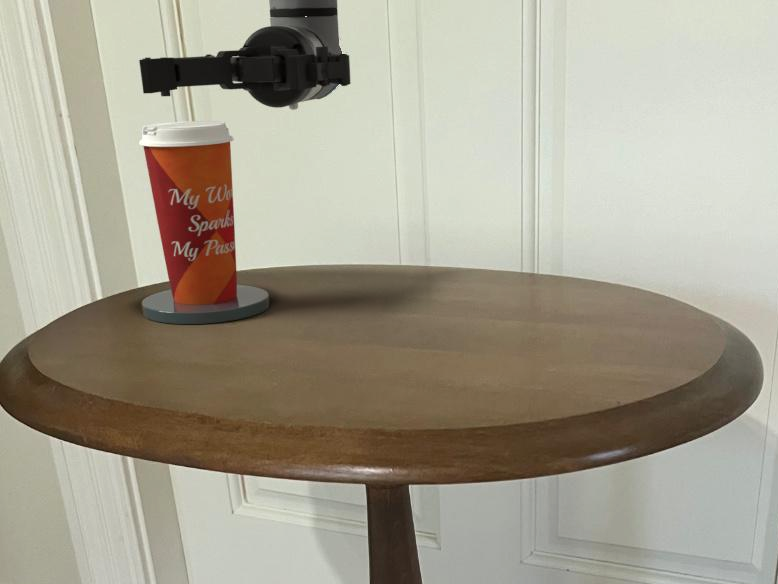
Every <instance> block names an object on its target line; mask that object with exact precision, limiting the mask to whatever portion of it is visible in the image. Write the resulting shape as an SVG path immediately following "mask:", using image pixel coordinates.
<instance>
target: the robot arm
mask: <svg viewBox="0 0 778 584" xmlns="http://www.w3.org/2000/svg"><path fill="white" fill-rule="evenodd" d="M268 3H269V22H270V23H269V26H264V27H261V28H259V29H257V30H256V31H254V32H253V33H251V34H250V35H249V36H248V38H247V39H246V40H245V42H244V43H243V46H242V47H240V48H239V49H235V50H219V51H218V52H217V53H216V55H213V54H205V55H202V56H200V55H199V56H184V57H183V56H182V57H166V56H165V57H157V58H156V57H155V58H151V56H150V57H144V58H142V59H139V60H138V61H139V69H140V76H141V86H142V93H143V94H156V93H160V96H161V97H171V95H172V94H171V91H175V90H178V88H185V87H186V88H187V87H203V86H219V87H220V88H221V89H222V90H231V91H232V90H243V91H246V92H248V94H249V95H250V96H251V98H253V99H254V100H255V101H257V102H258V103H260V104H262V105H264V106H266V107H270V108H275V109H276V108H277V109H279V108H285V107H288V108H289V109H290V110H292V111H294V110H297V109H298V108H299V104H300V103H304V102H308V101H313V100H322V99H323V98H326V97H327V96H329V95H331V94H332V91H333V90H334V91H335V90H336V89H337V88H338V87H339V86H340V85H341V87H348V86H349V85H351V84H352V83H351V64H350V62H351V61H350V55H349V54H342V51H341V48H340V46H339V38H340V34H339V31H340V30H339V17H338V15H339V13H338V0H268ZM305 16H307V17H305ZM339 84H340V85H339ZM338 85H339V86H338ZM337 86H338V87H337ZM336 87H337V88H336ZM334 91H333V92H334Z"/></svg>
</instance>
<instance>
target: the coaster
mask: <svg viewBox="0 0 778 584" xmlns="http://www.w3.org/2000/svg"><path fill="white" fill-rule="evenodd" d="M269 306H270V298H269V292H268V291H267V290H265V289H263V288H261V287H257V286H252V285H246V284H245V285H244V284H237V296H236V298H234V299H232V300H229V301H226V302H221V303H215V304H205V305H188V304H180V303H177V302H175V301H174V299H173V296H172V292H171V288H170V289H166V290H163V291H159V292H156V293H153V294H151V295H148V296H147V297H145V298H143V300H142V301H141V309H142V314H143V316H144V317H145V318H146V319H148V320H150V321H153V322H157V323H162V324H170V325H206V324H209V325H210V324H219V323H225V322H232V321H238V320H243V319H248V318H251V317H254V316H257V315H259V314H261V313H264V312H265V311H266V310H268V309H269Z"/></svg>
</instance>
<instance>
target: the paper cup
mask: <svg viewBox="0 0 778 584" xmlns="http://www.w3.org/2000/svg"><path fill="white" fill-rule="evenodd" d="M141 129H142V131H141V132H142V133H141V135H142V139H140V140H139V143H138V145H139V146H141V147H143V151H144V156H145V161H146V167H147V172H148V178H149V183H150V184H149V185H150V188H151V195H152V199H153V204H154V208H155V210H154V211H155V216H156V222H157V225H158V231H159V237H160V241H161V247H162V252H163V257H164V261H165V268H166V271H167V272H166V273H167V277H168V283H169V286H170V289H171V292H172V296H173V299H174V301H175V302H177V303H180V304H188V305H205V304H215V303H221V302H226V301H229V300H232V299H234V298H236V296H237V285H238V278H237V277H238V276H237V274H238V273H237V251H236V231H235V229H236V228H235V212H234V193H233V192H234V189H233V175H232V174H233V170H232V169H233V168H232V152H231V151H232V150H231V149H232V147H231V142H234V141H235V139H234V137H233V135H230V131H229V128H228V127H227V125H226V122H225V121H221V120H220V121H217V120H189V121H170V122H159V123H152V124H145V125H143V126H142V128H141Z"/></svg>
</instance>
